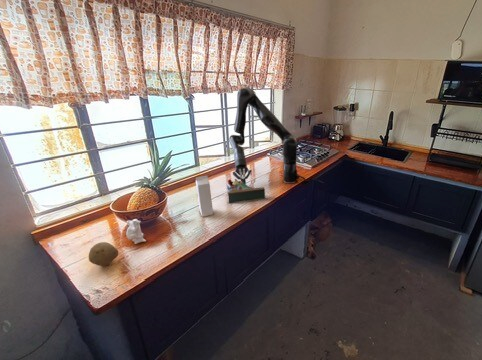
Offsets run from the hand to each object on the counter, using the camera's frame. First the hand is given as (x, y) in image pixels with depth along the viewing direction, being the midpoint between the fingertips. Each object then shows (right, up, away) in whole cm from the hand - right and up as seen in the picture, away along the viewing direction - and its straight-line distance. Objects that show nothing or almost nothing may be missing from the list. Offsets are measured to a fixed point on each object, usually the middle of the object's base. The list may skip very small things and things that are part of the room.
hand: (243, 184), depth 160 cm
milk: (-17, -16, -24) cm, 33 cm away
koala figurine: (-40, -25, -47) cm, 67 cm away
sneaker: (0, -6, -2) cm, 7 cm away
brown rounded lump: (-45, -31, -61) cm, 82 cm away
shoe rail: (+4, -9, -9) cm, 13 cm away
